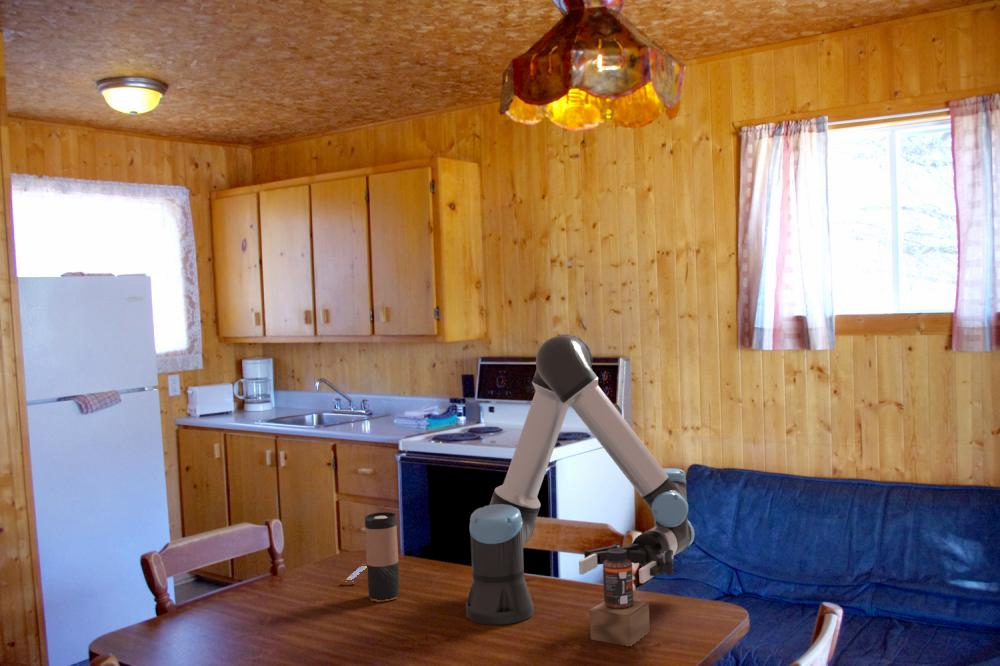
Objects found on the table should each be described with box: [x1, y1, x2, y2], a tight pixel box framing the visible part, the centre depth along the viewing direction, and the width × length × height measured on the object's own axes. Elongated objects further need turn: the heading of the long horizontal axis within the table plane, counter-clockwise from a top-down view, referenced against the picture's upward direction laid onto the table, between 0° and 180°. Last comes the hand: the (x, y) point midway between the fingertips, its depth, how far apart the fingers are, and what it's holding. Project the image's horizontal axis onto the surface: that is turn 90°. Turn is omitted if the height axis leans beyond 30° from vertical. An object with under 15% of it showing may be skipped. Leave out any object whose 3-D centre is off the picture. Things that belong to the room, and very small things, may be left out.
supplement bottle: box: [602, 548, 634, 609], centre depth 179 cm, size 6×6×11 cm
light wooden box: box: [588, 600, 651, 647], centre depth 179 cm, size 9×9×6 cm
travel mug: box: [364, 511, 400, 600], centre depth 212 cm, size 8×8×20 cm
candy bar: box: [341, 565, 367, 582], centre depth 231 cm, size 17×4×2 cm, turn 169°
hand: (610, 572), depth 177 cm, fingers open, 13 cm apart
